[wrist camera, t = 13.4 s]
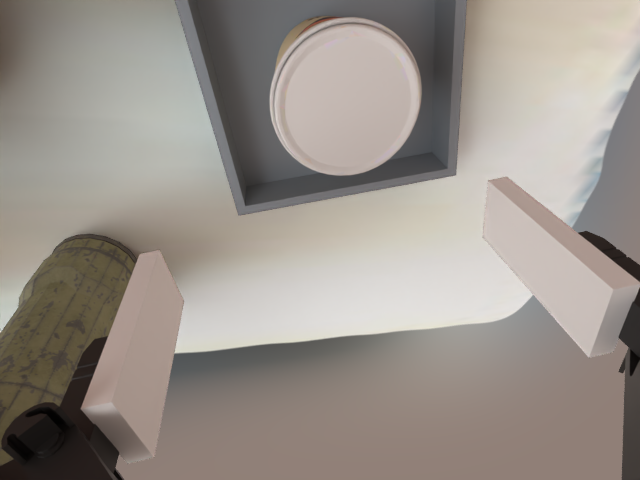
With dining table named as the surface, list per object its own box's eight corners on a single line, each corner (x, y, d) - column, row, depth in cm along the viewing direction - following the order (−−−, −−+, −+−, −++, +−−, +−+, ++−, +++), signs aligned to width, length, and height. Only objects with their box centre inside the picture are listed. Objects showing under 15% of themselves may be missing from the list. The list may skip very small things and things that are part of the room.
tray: (240, 190, 40) (238, 215, 36) (171, -57, 29) (156, -62, 25) (435, 154, 41) (455, 175, 37) (443, -102, 29) (473, -113, 25)
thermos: (71, 312, 46) (-246, 895, 17) (31, 223, 39) (-598, 929, 10) (152, 306, 47) (-17, 846, 18) (126, 219, 40) (-205, 849, 11)
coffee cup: (396, 32, 33) (455, 58, 23) (349, 137, 37) (382, 197, 28) (288, -19, 30) (303, -13, 20) (252, 102, 35) (250, 154, 25)
